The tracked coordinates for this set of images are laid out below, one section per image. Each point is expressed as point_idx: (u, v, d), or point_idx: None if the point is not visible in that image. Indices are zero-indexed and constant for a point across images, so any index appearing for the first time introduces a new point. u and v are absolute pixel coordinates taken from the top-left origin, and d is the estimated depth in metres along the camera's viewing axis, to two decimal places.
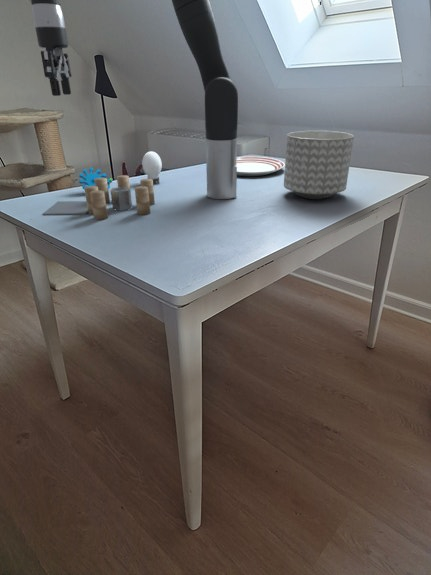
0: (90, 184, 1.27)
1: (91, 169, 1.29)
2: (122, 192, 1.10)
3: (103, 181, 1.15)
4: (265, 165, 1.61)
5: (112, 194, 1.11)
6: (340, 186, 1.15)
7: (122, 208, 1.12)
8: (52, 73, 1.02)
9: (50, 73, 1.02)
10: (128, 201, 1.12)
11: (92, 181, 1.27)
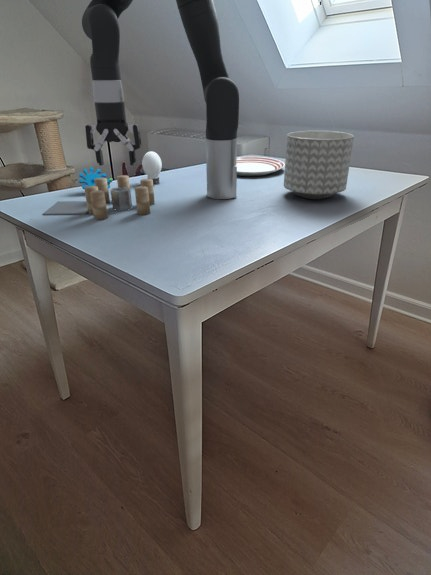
0: (90, 184, 1.27)
1: (91, 169, 1.29)
2: (122, 192, 1.10)
3: (103, 181, 1.15)
4: (265, 165, 1.61)
5: (112, 194, 1.11)
6: (340, 186, 1.15)
7: (122, 208, 1.12)
8: (141, 144, 1.07)
9: (140, 144, 1.06)
10: (128, 201, 1.12)
11: (92, 181, 1.27)
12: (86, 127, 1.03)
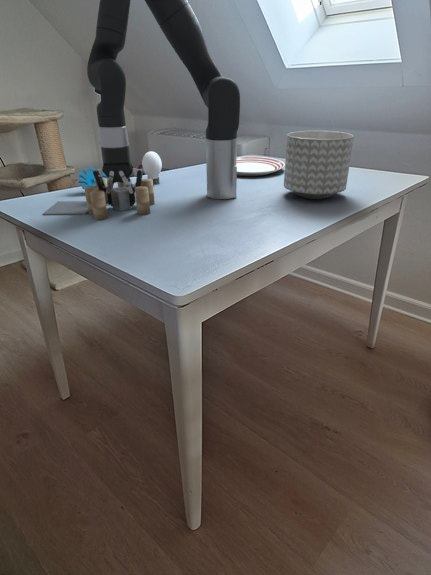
0: (89, 184, 1.27)
1: (91, 169, 1.29)
2: (122, 192, 1.10)
3: None
4: (265, 165, 1.61)
5: (112, 194, 1.11)
6: (340, 186, 1.15)
7: (122, 208, 1.12)
8: None
9: (139, 186, 1.12)
10: (128, 201, 1.12)
11: (92, 181, 1.28)
12: (94, 173, 1.08)
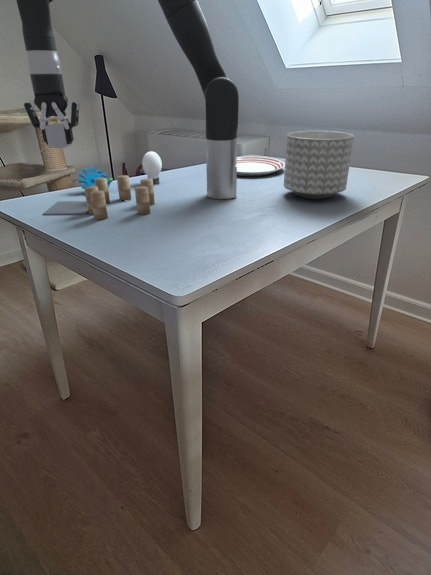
0: (89, 183, 1.27)
1: (92, 168, 1.30)
2: (56, 127, 1.02)
3: (103, 181, 1.15)
4: (265, 165, 1.61)
5: (46, 129, 1.03)
6: (340, 186, 1.15)
7: (58, 145, 1.04)
8: (77, 123, 1.04)
9: (76, 122, 1.04)
10: (64, 137, 1.04)
11: (91, 180, 1.28)
12: (25, 105, 1.00)
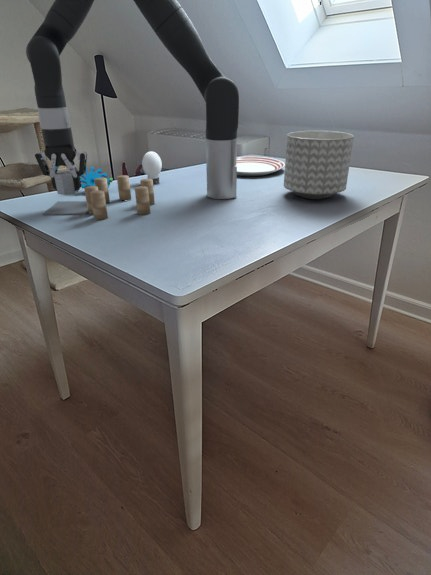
0: (89, 183, 1.28)
1: (92, 168, 1.30)
2: (65, 175, 1.08)
3: (103, 181, 1.15)
4: (265, 165, 1.61)
5: (56, 178, 1.09)
6: (340, 186, 1.15)
7: (66, 192, 1.10)
8: (85, 171, 1.10)
9: (84, 170, 1.10)
10: (72, 185, 1.10)
11: (91, 180, 1.28)
12: (36, 156, 1.06)
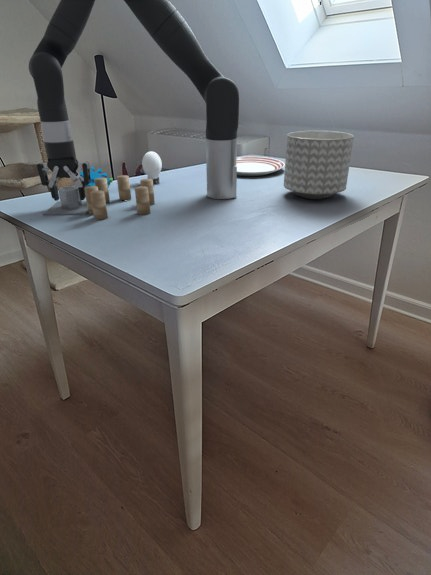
0: (89, 183, 1.28)
1: (92, 168, 1.30)
2: (69, 191, 1.10)
3: (103, 181, 1.15)
4: (265, 165, 1.61)
5: (60, 193, 1.11)
6: (340, 186, 1.15)
7: (70, 207, 1.12)
8: (90, 180, 1.11)
9: (89, 180, 1.11)
10: (76, 200, 1.12)
11: (91, 180, 1.28)
12: (37, 166, 1.08)
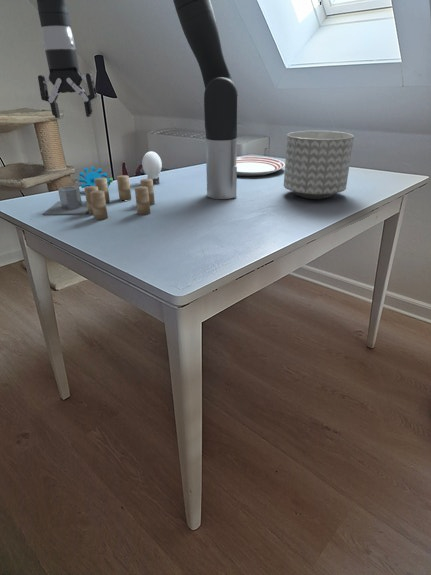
0: (89, 183, 1.28)
1: (92, 168, 1.30)
2: (69, 191, 1.10)
3: (103, 181, 1.15)
4: (265, 165, 1.61)
5: (60, 193, 1.11)
6: (340, 186, 1.15)
7: (70, 207, 1.12)
8: (96, 94, 1.06)
9: (95, 94, 1.06)
10: (76, 200, 1.12)
11: (91, 180, 1.28)
12: (39, 77, 1.02)
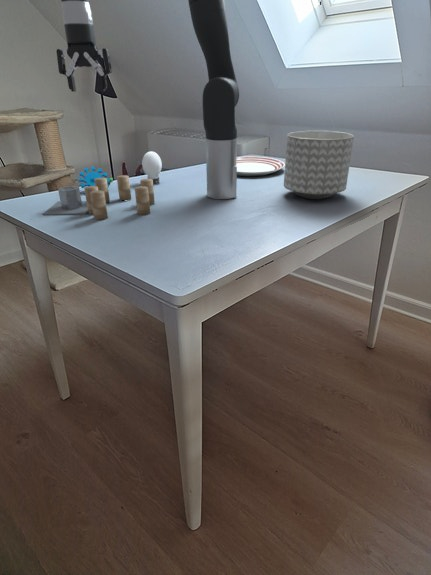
0: (89, 183, 1.28)
1: (92, 168, 1.30)
2: (69, 191, 1.10)
3: (103, 181, 1.15)
4: (265, 165, 1.61)
5: (60, 193, 1.11)
6: (340, 186, 1.15)
7: (70, 207, 1.12)
8: (111, 69, 1.11)
9: (110, 69, 1.10)
10: (76, 200, 1.12)
11: (91, 180, 1.29)
12: (57, 51, 1.07)
